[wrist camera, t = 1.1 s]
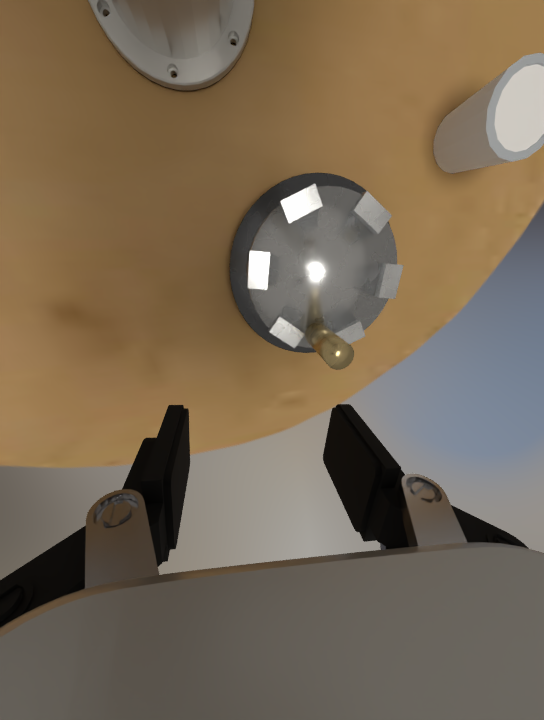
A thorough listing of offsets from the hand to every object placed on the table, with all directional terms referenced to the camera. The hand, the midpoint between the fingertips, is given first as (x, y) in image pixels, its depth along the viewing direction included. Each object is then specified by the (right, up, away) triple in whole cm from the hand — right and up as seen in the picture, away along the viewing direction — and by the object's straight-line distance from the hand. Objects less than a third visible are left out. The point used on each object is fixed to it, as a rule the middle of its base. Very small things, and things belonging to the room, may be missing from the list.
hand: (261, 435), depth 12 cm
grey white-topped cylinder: (+20, +26, +17) cm, 37 cm away
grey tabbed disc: (+5, +12, +17) cm, 22 cm away
